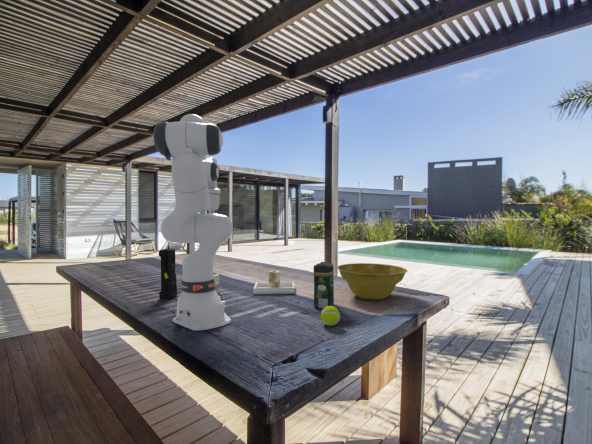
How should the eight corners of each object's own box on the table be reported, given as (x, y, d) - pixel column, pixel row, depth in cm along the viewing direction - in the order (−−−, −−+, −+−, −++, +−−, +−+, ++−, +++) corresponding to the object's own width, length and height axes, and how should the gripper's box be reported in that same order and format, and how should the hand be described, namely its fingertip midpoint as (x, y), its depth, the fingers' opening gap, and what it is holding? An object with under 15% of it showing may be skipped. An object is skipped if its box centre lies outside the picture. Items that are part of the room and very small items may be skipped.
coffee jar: (317, 302, 138) (317, 260, 137) (335, 304, 135) (335, 261, 135) (311, 308, 128) (311, 263, 128) (330, 310, 126) (330, 264, 125)
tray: (293, 287, 167) (293, 281, 167) (294, 293, 153) (294, 287, 153) (256, 287, 166) (256, 282, 166) (253, 294, 152) (253, 288, 152)
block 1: (219, 291, 158) (219, 273, 158) (215, 294, 153) (214, 275, 153) (211, 291, 159) (210, 273, 159) (206, 293, 154) (206, 275, 154)
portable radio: (171, 299, 143) (170, 245, 143) (158, 299, 144) (157, 245, 143) (178, 295, 151) (177, 243, 151) (165, 295, 151) (164, 243, 151)
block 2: (280, 288, 161) (279, 270, 161) (277, 290, 157) (277, 272, 157) (271, 287, 162) (271, 270, 162) (268, 290, 158) (268, 271, 158)
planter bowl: (398, 288, 163) (398, 263, 162) (416, 306, 131) (416, 274, 130) (335, 287, 166) (335, 262, 166) (338, 305, 134) (337, 273, 134)
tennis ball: (324, 329, 105) (324, 309, 105) (318, 323, 111) (317, 304, 111) (343, 327, 107) (343, 308, 106) (335, 321, 113) (335, 302, 113)
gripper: (193, 192, 158) (192, 219, 158) (209, 188, 142) (208, 219, 141) (206, 193, 162) (204, 220, 162) (222, 190, 146) (221, 219, 145)
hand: (206, 219), depth 151 cm, fingers open, 8 cm apart
